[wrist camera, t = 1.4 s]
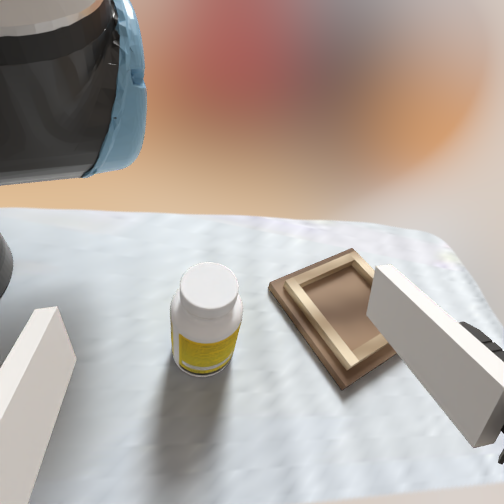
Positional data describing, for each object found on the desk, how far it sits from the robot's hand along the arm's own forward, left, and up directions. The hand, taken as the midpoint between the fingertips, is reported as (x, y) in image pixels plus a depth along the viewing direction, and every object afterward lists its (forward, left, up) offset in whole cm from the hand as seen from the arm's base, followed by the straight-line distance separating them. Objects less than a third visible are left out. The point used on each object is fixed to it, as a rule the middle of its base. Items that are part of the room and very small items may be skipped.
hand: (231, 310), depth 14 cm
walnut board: (-2, +17, -16) cm, 23 cm away
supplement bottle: (-5, +2, -16) cm, 17 cm away
